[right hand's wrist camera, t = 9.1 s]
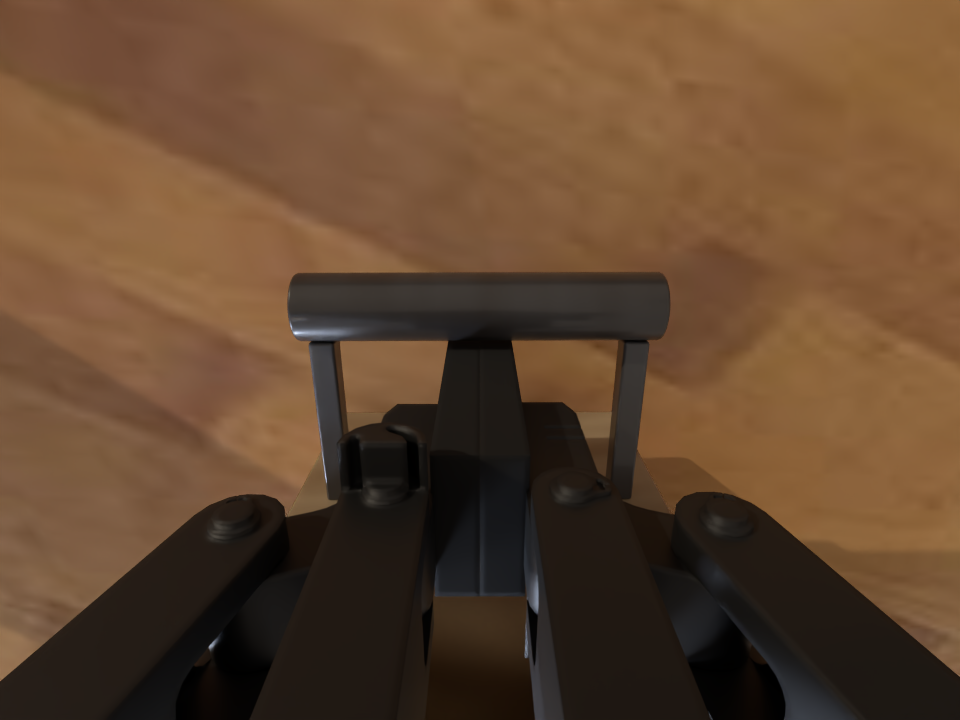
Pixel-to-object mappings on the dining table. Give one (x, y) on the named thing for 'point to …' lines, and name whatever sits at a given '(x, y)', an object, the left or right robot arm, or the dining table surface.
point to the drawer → (482, 317)
